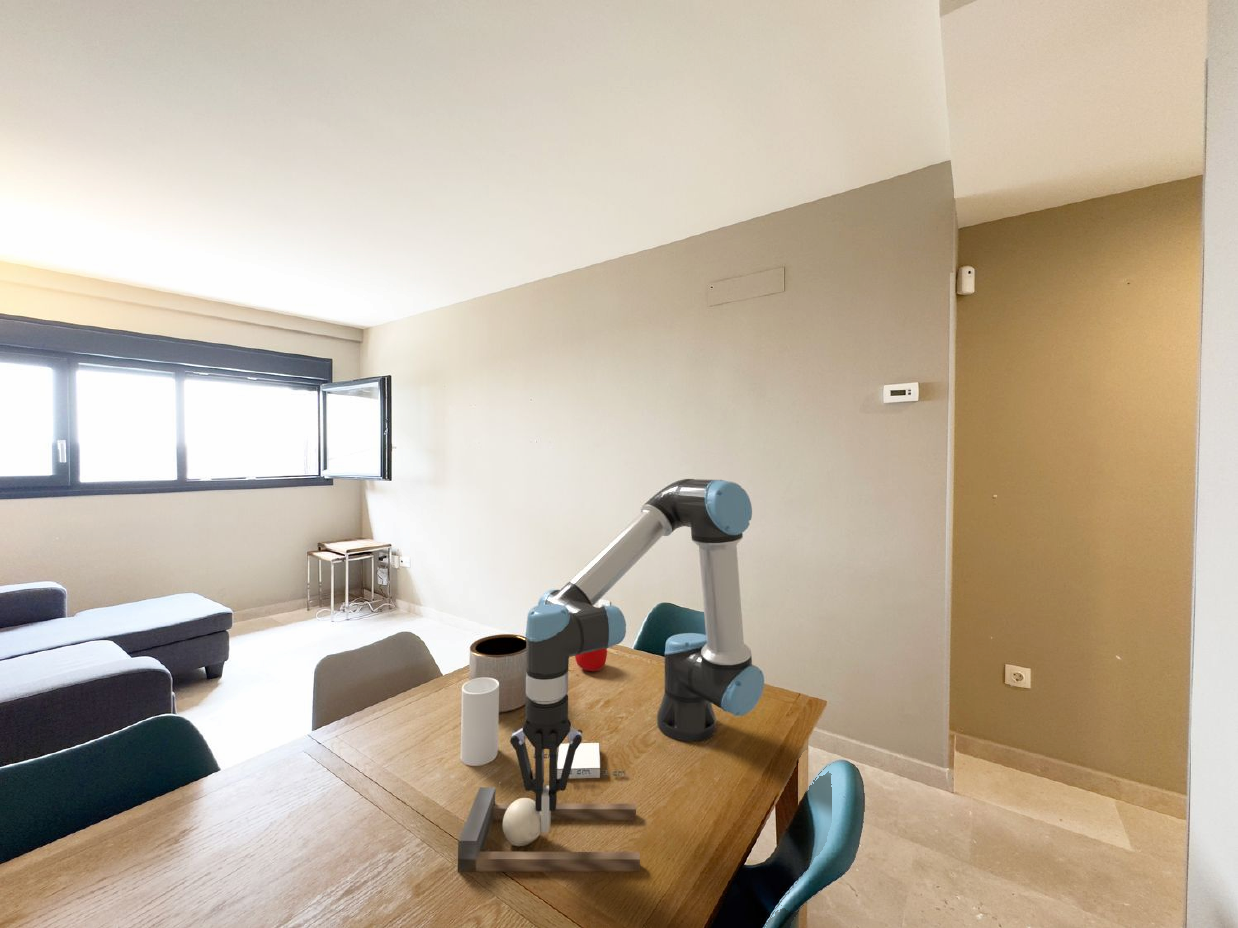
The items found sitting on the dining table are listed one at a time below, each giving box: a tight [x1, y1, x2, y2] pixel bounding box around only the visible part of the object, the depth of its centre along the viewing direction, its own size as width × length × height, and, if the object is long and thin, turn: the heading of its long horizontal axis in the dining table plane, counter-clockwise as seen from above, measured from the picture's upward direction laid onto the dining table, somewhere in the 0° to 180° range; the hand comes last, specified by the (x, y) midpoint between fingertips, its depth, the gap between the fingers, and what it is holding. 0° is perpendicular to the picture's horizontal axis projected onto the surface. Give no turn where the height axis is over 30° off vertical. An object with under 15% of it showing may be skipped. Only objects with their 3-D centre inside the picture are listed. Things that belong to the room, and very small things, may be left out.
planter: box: [468, 633, 527, 714], centre depth 136 cm, size 18×18×16 cm
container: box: [533, 742, 626, 779], centre depth 106 cm, size 20×12×3 cm, turn 94°
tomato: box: [574, 648, 608, 672], centre depth 157 cm, size 10×11×11 cm
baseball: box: [502, 797, 542, 847], centre depth 85 cm, size 7×7×7 cm
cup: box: [460, 678, 499, 767], centre depth 110 cm, size 8×8×16 cm
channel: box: [457, 786, 641, 872], centre depth 85 cm, size 30×13×5 cm, turn 91°
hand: (545, 827), depth 85 cm, fingers closed
